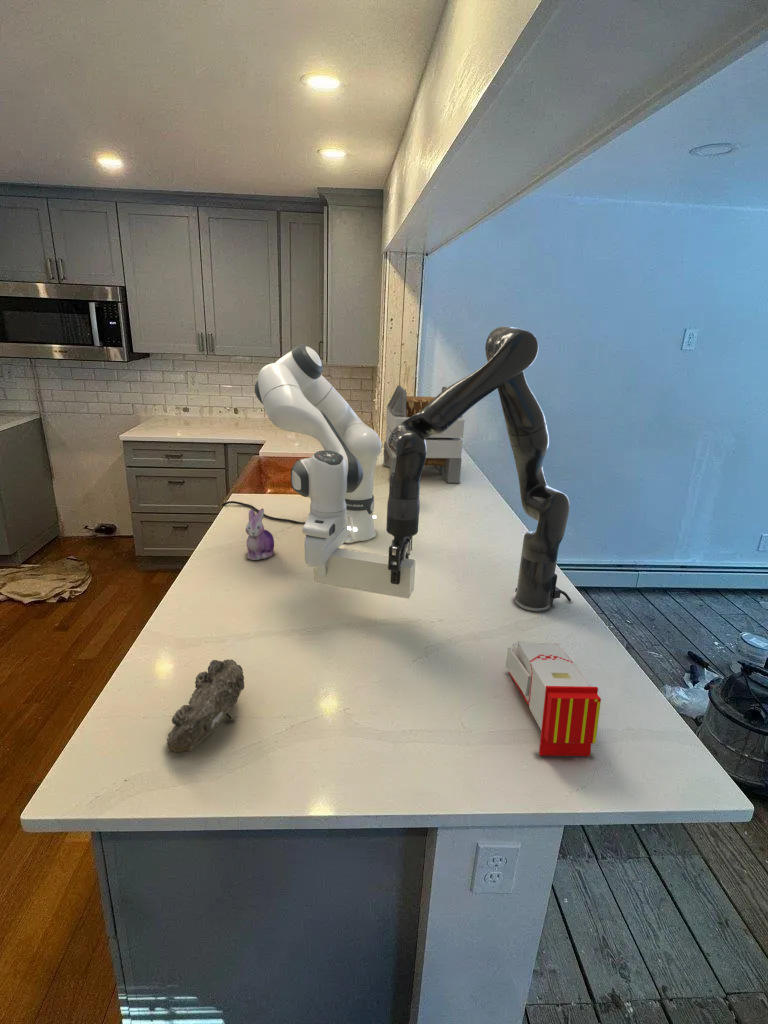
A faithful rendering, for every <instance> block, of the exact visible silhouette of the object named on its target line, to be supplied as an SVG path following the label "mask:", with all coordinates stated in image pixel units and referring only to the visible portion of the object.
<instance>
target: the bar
mask: <svg viewBox="0 0 768 1024" xmlns="http://www.w3.org/2000/svg"><path fill="white" fill-rule="evenodd" d="M388 560H389V555H387V554H379V553H374V552H366V551H360V550H353V549H348V548H340V547H339V548H338V549H337V550H336V551H335V552H334V553H333V554H332V555H331V557H330V558H329V559H328V560H327V563H326V567H328V568H327V574H326V575H325V576H321V575H319V569H318V568H313V583H315V584H321V585H325V586H326V585H327V586H331V587H337V588H343V589H349V590H356V591H360V592H367V593H374V594H379V595H386V596H390V597H391V596H392V597H396V598H397V597H398V598H402V599H407V600H410V598H411V596H412V593H413V592H414V591H415V578H416V577H415V576H416V562H417V561H416V559H413V558H409V559H407V558H405V561H403V562H402V566H401V567H402V568H401V576H400V583H399V584H398V585H397V584H392V583H391V582H390V581H391V570H388ZM394 565H397V563H396V562H394Z"/></svg>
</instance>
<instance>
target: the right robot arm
mask: <svg viewBox="0 0 768 1024" xmlns="http://www.w3.org/2000/svg"><path fill="white" fill-rule="evenodd" d="M484 347H485V348H484V350H485V351H484V352H485V357H486V360H487V361H486V362H485V364H483V365H482V366H481V367H479V368H478V369H476V370H475V371H474V372H472V373H471V374H469V375H467V376H465V377H464V378H461V379H460V380H457V381H456V382H454V383H453V384H451V385H449V386H447V388H446V389H445V390H444V391H442V390H441V392H439V393H438V394H437V395H436V396H434V397H435V398H434V399H433V400H432V401H431V402H430V403H429V404H428V405H427V406H425V408H424V409H422V410H421V411H420V412H418V413H416V414H414V415H413V416H411V417H410V418H408V419H406V420H405V421H403V422H402V423H401V424H399V425H398V426H397V427H396V428H395V429H394V430H393V431H392V432H391V434H390V436H389V439H388V446H389V448H390V450H391V451H392V453H394V454H395V455H396V466H395V470H393V471H392V473H391V475H390V474H389V475H390V478H389V483H388V484H389V485H388V486H389V488H388V499H387V506H386V525H385V526H386V528H385V531H386V532H387V534H389V535H391V536H392V537H393V539H392V540H391V542H390V543H391V544H390V545H389V547H388V556H389V560H388V570H391V581H390V582H391V583H392V584H397V585H398V584H399V583H400V576H401V568H402V567H401V566H402V562H403V561H405V558H407V559H410V558H409V557H410V556H411V552H412V551H413V538H414V536H416V535H417V534H418V533H419V521H420V509H421V508H420V505H421V504H420V489H421V477H422V474H423V470H424V467H425V466H424V463H425V459H426V453H427V447H426V442H425V440H426V439H427V438H428V437H430V436H432V435H439V434H441V433H443V432H444V431H445V430H447V429H448V428H449V427H450V426H451V425H452V424H453V423H454V422H456V421H457V420H458V419H459V418H460V417H461V416H462V417H463V415H465V413H467V412H469V410H470V409H472V408H473V407H474V406H475V405H477V404H478V403H479V402H480V401H482V400H484V398H486V397H488V395H490V394H491V393H492V392H494V391H496V390H497V392H498V395H499V396H498V397H499V401H500V404H501V410H502V412H503V417H504V422H505V425H506V426H505V427H506V432H507V436H508V439H509V443H510V447H511V451H512V455H513V458H514V459H513V460H514V463H515V468H516V472H517V477H518V485H519V495H520V501H521V506H522V509H523V511H524V513H525V514H526V515H527V516H528V517H530V518H531V519H533V520H535V521H536V522H537V525H536V529H535V530H529V531H527V532H526V533H524V536H523V540H522V547H521V554H520V555H521V556H520V561H519V570H518V577H517V584H516V588H515V591H514V592H515V597H514V603H515V604H516V606H518V607H519V608H521V609H523V610H525V611H529V612H535V613H536V612H538V613H539V612H545V611H548V610H549V609H550V608H551V607H553V606H554V600H555V599H561V595H563V596H564V597H565V599H566V600H567V601H568V602H571V601H572V598H570V596H569V594H568V593H567V592H566V591H564V590H561V588H559V587H558V586H557V582H558V574H557V572H556V567H557V562H558V554H559V548H560V545H561V543H562V541H563V539H564V538H565V537H564V536H565V533H566V528H567V523H568V519H569V514H570V498H569V497H568V495H566V493H564V492H562V491H560V490H558V489H556V488H553V487H551V486H549V485H548V484H547V481H546V478H545V473H544V467H543V465H544V461H545V460H544V459H545V457H546V455H547V453H548V449H549V447H550V446H549V445H550V435H549V430H548V426H547V420H546V417H545V414H544V411H543V410H542V407H541V406H540V403H539V402H538V400H537V398H536V396H535V394H534V393H533V391H532V390H531V388H530V386H529V384H528V382H527V379H526V376H525V370H527V369H529V367H531V365H533V364H534V362H535V361H536V359H537V357H538V353H539V341H538V339H537V337H536V336H535V334H534V333H533V332H530V330H529V331H528V330H527V329H522V328H519V327H514V326H506V325H505V326H504V325H503V326H498V327H496V328H494V329H493V330H492V331H490V333H489V334H488V336H487V338H486V341H485V346H484ZM462 417H461V418H462ZM394 562H396V563H397V565H394Z"/></svg>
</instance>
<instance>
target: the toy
mask: <svg viewBox="0 0 768 1024" xmlns="http://www.w3.org/2000/svg"><path fill="white" fill-rule="evenodd" d="M511 646H512V647H508V648H507V653H506V658H505V659H506V660H505V668H506V669H507V671H508V675H509V676H510V677H511V679H512V681H513V682H514V684H515V686H516V688H517V689H518V691H519V693H520V694H521V696H522V698H523V700H524V702H525V703H526V705H527V706H528V708H529V710H530V712H531V715H532V716H533V718H534V720H535V722H536V723H537V724H536V725H537V726H538V727H539V730H540V731H541V733H540V739H539V740H540V741H539V749H538V751H539V752H538V754H539V756H543V757H548V756H550V757H551V756H552V757H553V756H554V757H568V756H569V757H591V751H592V744H596V743H597V734H598V726H599V717H600V710H601V702H602V698H601V697H600V696H599V694H598V693H599V688H598V686H592V684H590V682H589V681H588V680H587V678H586V677H585V676H584V675H583V673H582V672H581V671H580V669H579V668H578V667H577V665H576V664H575V663H574V661H573V660H572V659H571V658H570V656H569V655H568V654H567V652H566V651H565V649H564V647H562V645H561V644H560V643H559V642H553V641H551V642H549V641H548V642H547V641H546V642H545V641H517V642H512V645H511Z"/></svg>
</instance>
